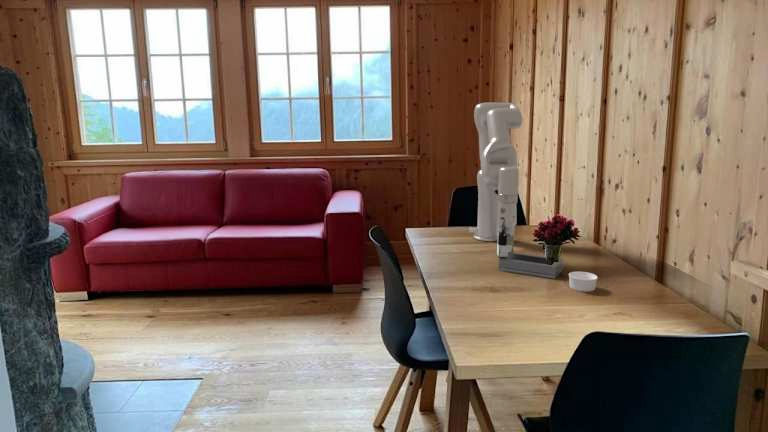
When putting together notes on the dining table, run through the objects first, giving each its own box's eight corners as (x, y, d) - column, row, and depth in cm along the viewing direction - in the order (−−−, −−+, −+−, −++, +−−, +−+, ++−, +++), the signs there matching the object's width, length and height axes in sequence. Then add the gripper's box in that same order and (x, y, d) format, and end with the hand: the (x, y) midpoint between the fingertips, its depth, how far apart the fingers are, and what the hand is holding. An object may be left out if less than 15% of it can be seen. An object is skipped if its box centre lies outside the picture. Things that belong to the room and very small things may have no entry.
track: (498, 270, 197) (498, 259, 196) (509, 261, 208) (509, 251, 207) (554, 278, 187) (555, 267, 186) (562, 269, 198) (563, 258, 197)
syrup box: (511, 254, 218) (513, 218, 215) (513, 258, 212) (515, 221, 210) (496, 253, 219) (498, 218, 216) (498, 257, 213) (500, 221, 210)
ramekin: (598, 293, 172) (600, 280, 172) (569, 291, 174) (570, 278, 173) (594, 284, 181) (595, 272, 180) (566, 283, 183) (567, 270, 182)
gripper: (510, 202, 202) (507, 249, 205) (523, 196, 217) (521, 239, 220) (490, 201, 205) (488, 246, 209) (505, 194, 220) (503, 237, 224)
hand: (505, 242), depth 214 cm, fingers closed on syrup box, 7 cm apart
